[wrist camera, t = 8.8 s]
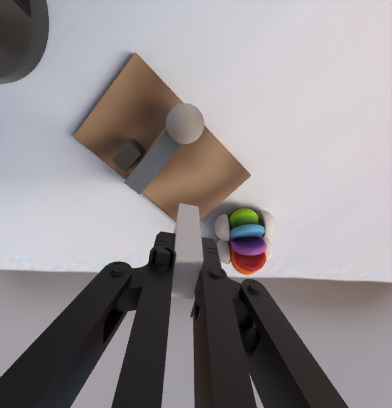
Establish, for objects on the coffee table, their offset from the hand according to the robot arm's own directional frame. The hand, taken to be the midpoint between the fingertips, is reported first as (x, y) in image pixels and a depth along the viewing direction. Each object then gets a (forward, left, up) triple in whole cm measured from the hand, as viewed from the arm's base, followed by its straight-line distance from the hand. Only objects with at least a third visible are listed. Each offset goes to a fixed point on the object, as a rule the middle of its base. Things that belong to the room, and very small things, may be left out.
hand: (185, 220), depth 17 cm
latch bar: (-5, -1, -13) cm, 14 cm away
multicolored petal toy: (+12, -1, -14) cm, 19 cm away
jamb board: (-4, 0, -14) cm, 15 cm away
